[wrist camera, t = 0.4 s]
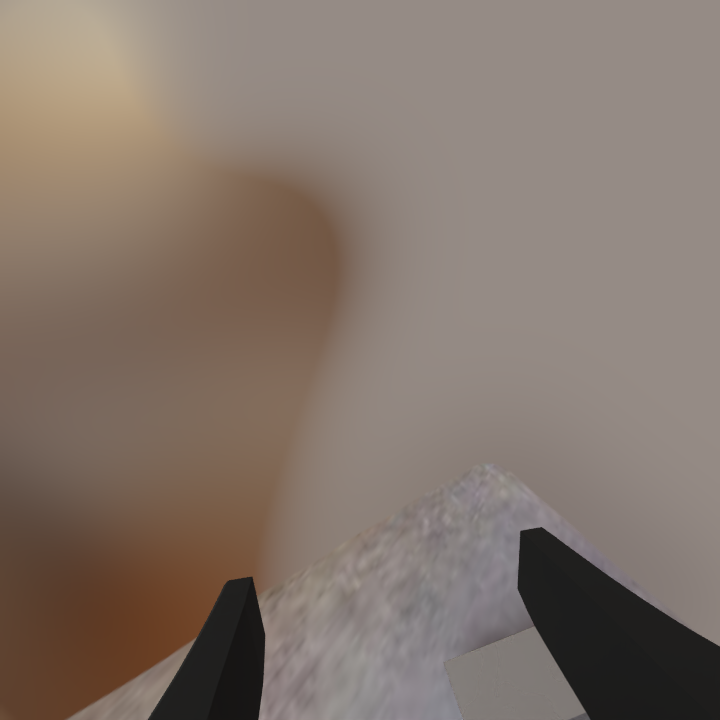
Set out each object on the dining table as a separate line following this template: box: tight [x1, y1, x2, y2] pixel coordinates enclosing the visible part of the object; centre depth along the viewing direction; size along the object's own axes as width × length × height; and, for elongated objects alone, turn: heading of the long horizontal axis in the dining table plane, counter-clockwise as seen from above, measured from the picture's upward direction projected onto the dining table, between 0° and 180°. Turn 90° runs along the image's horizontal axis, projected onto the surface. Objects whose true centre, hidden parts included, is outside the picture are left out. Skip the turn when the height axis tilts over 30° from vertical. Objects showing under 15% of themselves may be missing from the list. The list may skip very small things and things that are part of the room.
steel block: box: [444, 626, 590, 720], centre depth 22 cm, size 4×6×5 cm, turn 102°
